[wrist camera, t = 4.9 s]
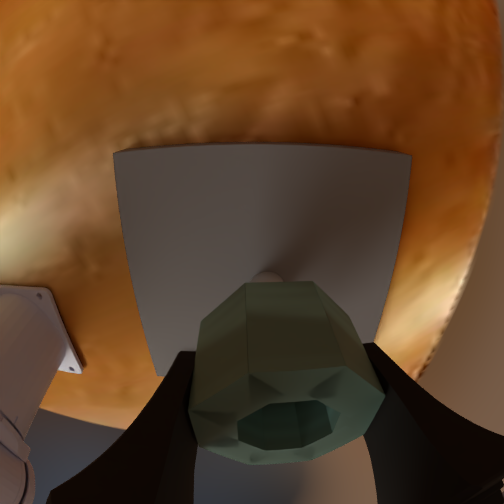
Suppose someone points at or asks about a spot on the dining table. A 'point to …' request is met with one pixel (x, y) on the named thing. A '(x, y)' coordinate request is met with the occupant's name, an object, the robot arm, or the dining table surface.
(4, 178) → the dining table surface
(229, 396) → the bead
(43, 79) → the dining table surface
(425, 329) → the dining table surface
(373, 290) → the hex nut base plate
